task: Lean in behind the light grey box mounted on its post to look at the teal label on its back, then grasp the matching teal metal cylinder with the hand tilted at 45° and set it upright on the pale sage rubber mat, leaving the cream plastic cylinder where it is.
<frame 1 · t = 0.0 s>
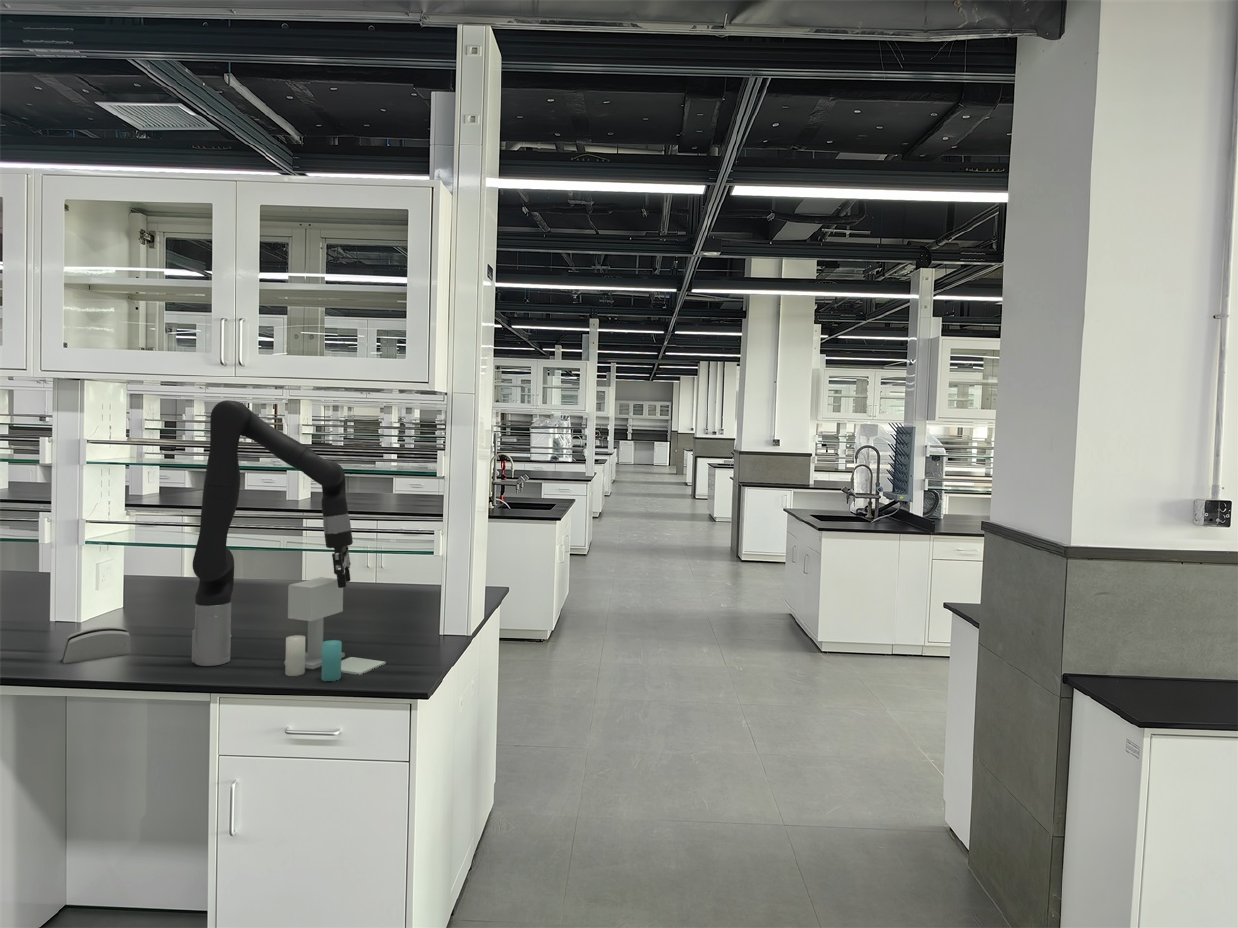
hand: (344, 584, 239), 22 cm above the countertop, tool pointing down, fingers open, 8 cm apart
cream part: (295, 673, 226), on the countertop
mounted unit: (315, 660, 238), on the countertop
teal part: (331, 678, 222), on the countertop
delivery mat: (355, 666, 234), on the countertop
gear: (217, 637, 261), on the countertop
grey curved piece: (97, 658, 234), on the countertop
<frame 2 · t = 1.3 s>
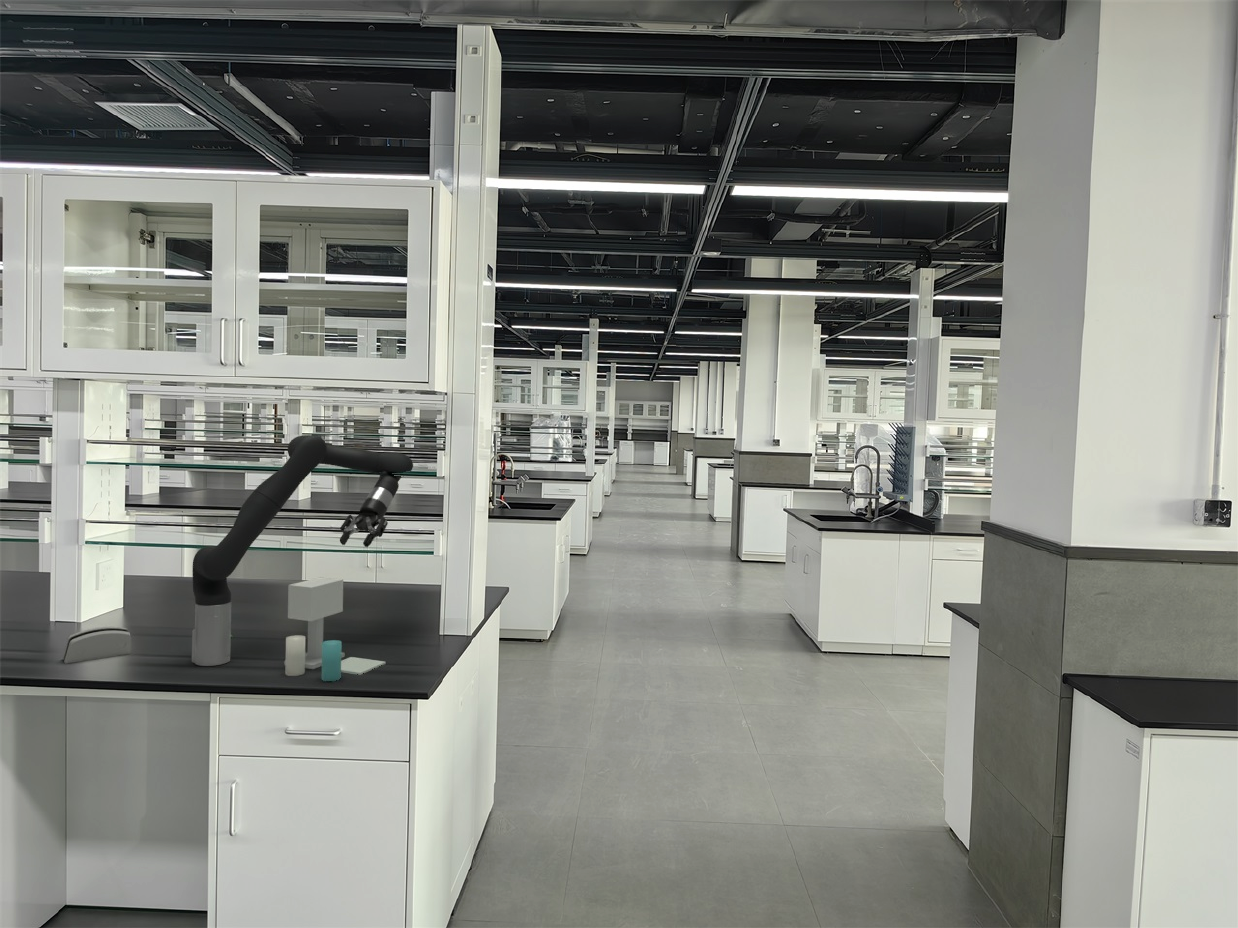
hand: (353, 544, 251), 32 cm above the countertop, tool tilted 45°, fingers open, 8 cm apart
nothing on the countertop moved.
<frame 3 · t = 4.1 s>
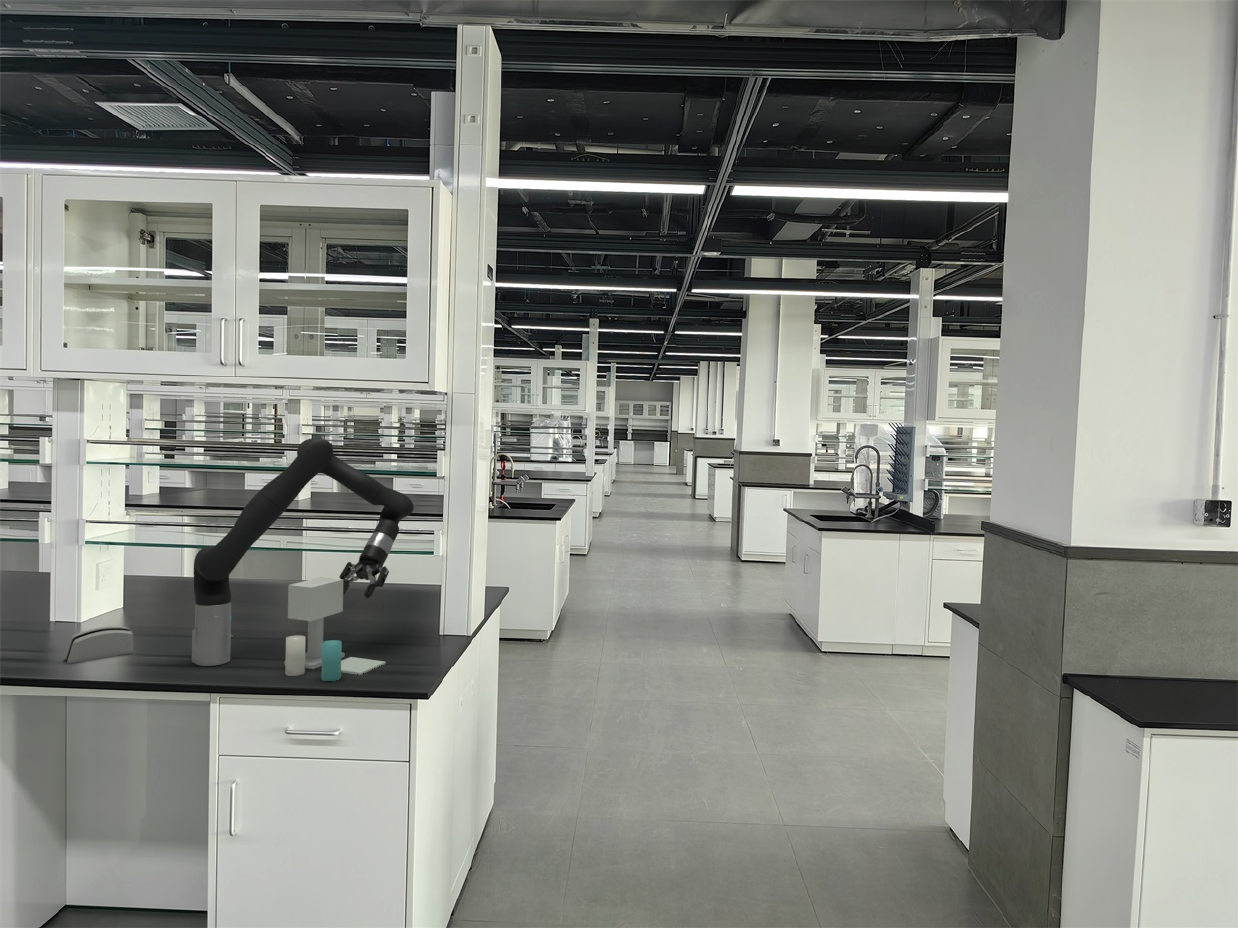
hand: (353, 595, 243), 19 cm above the countertop, tool tilted 40°, fingers open, 8 cm apart
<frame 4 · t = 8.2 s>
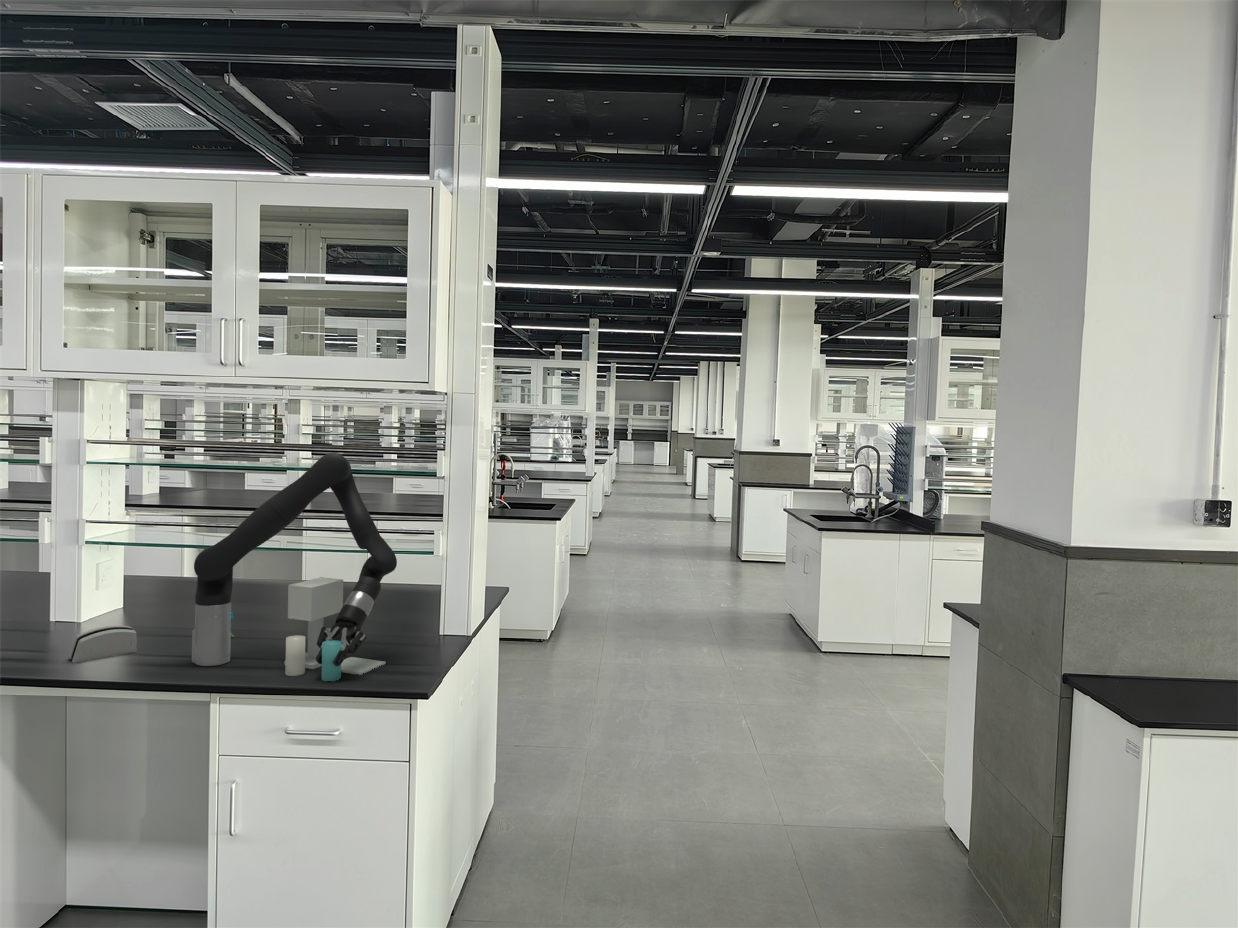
hand: (327, 663, 220), 5 cm above the countertop, tool tilted 45°, fingers closed on teal part, 5 cm apart
teal part: (331, 678, 222), on the countertop, touching gripper
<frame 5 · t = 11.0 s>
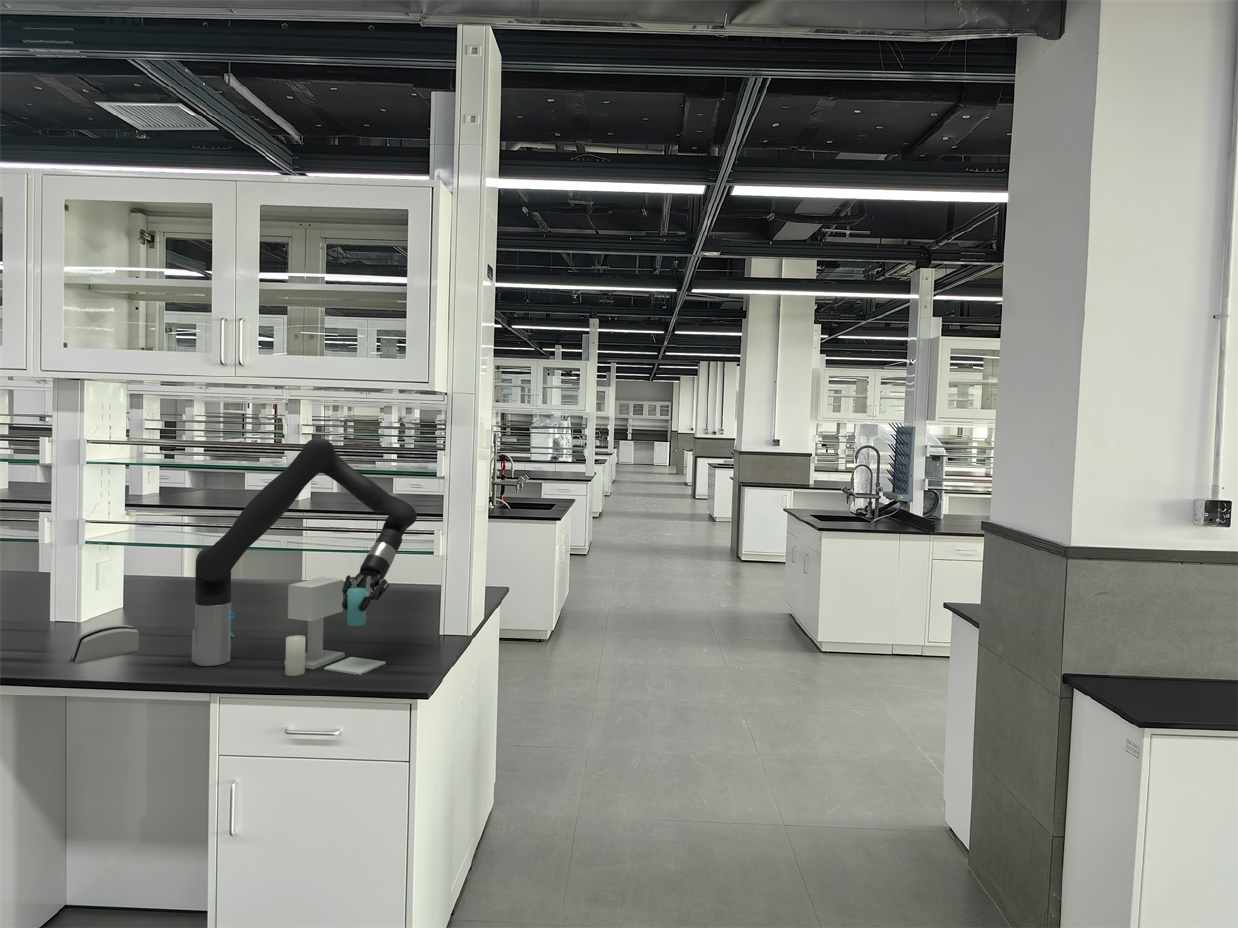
hand: (352, 608, 231), 17 cm above the countertop, tool tilted 45°, fingers closed on teal part, 5 cm apart
teal part: (356, 623, 233), point 12 cm above the countertop, touching gripper
when the fingers open (7 cm above the countertop, at t = 13.9 s): teal part drops 1 cm, resting on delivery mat.
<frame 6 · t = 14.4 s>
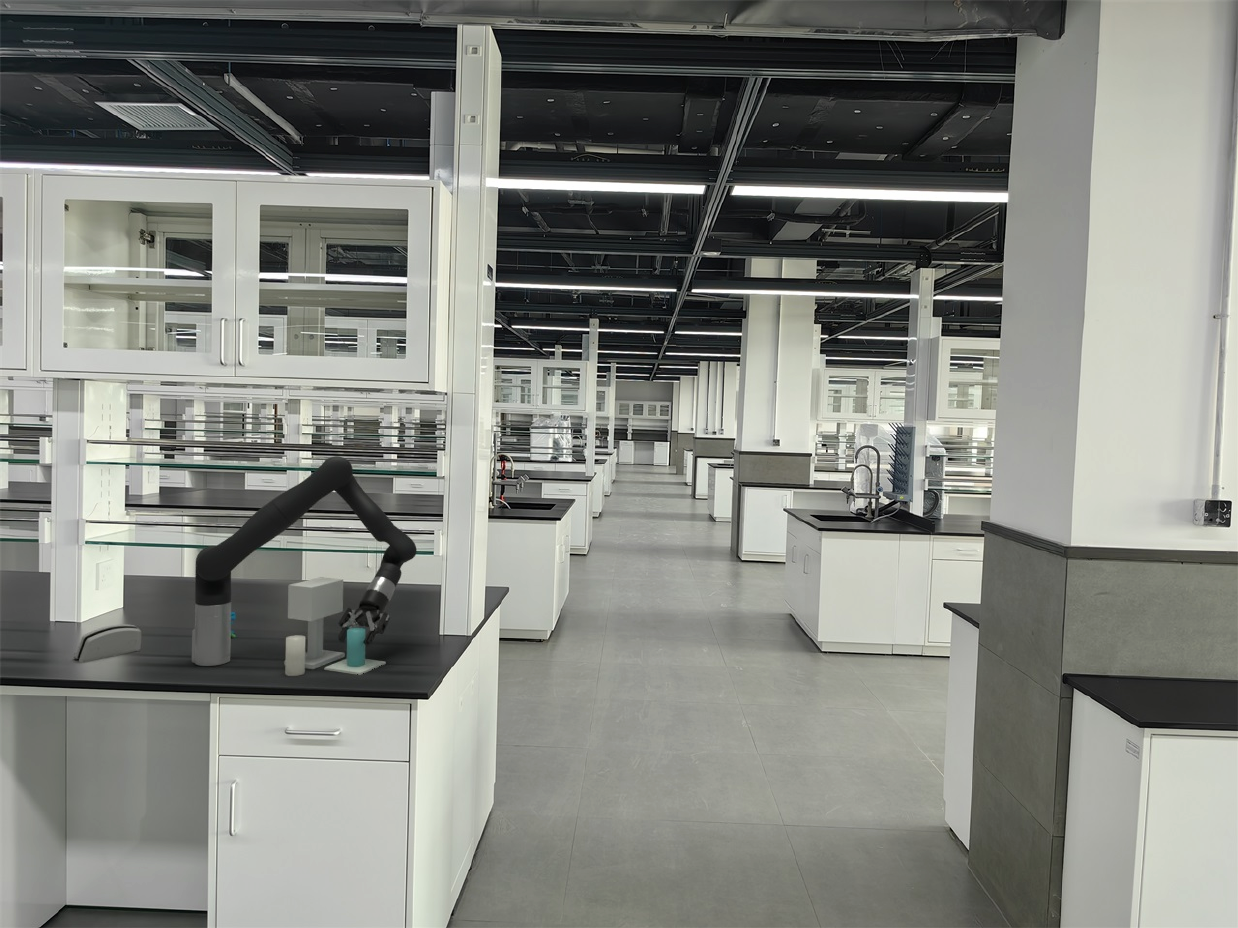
hand: (353, 642, 232), 7 cm above the countertop, tool tilted 45°, fingers open, 8 cm apart
teal part: (356, 664, 234), point 1 cm above the countertop, touching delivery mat
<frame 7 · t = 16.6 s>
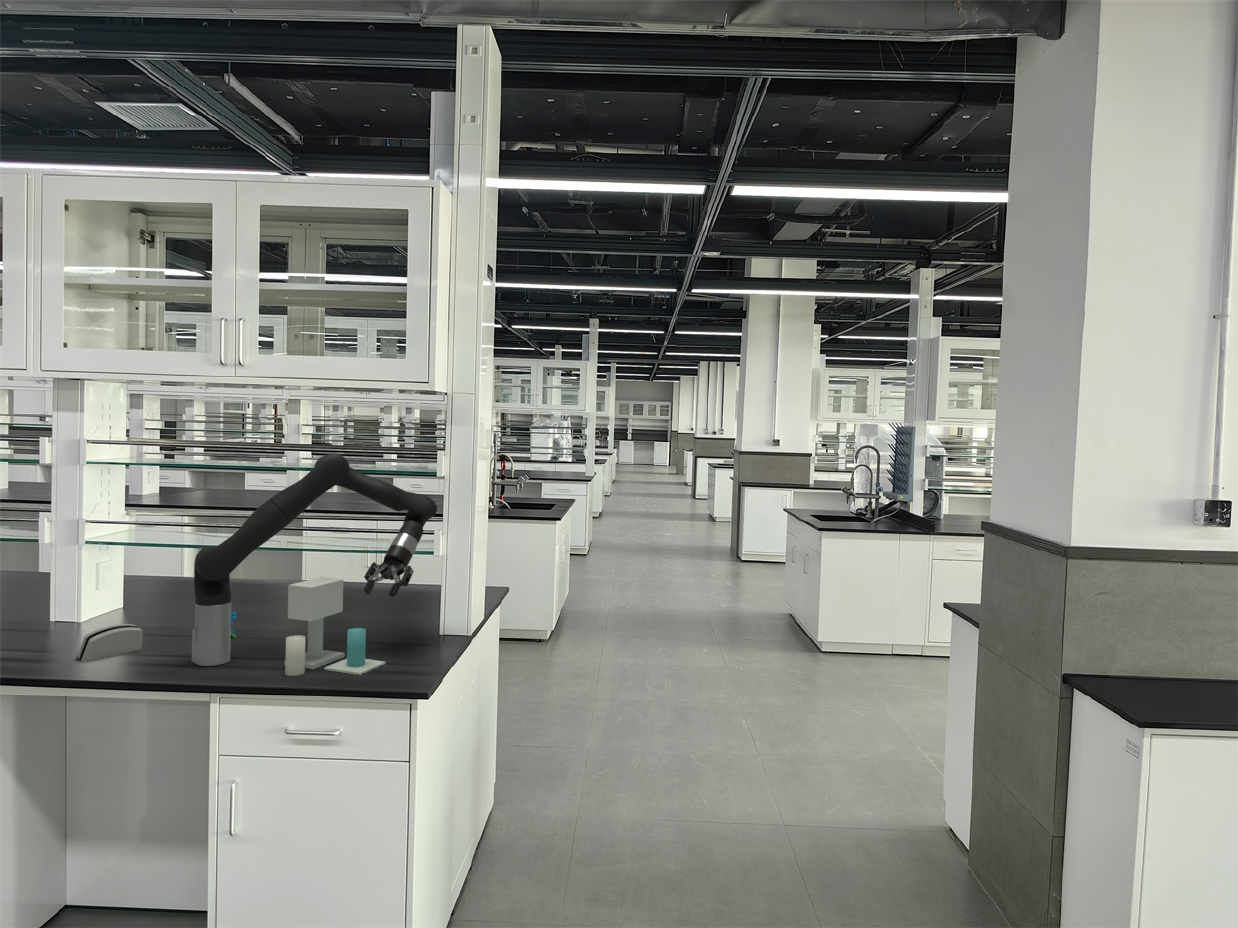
hand: (378, 594, 243), 19 cm above the countertop, tool tilted 45°, fingers open, 8 cm apart
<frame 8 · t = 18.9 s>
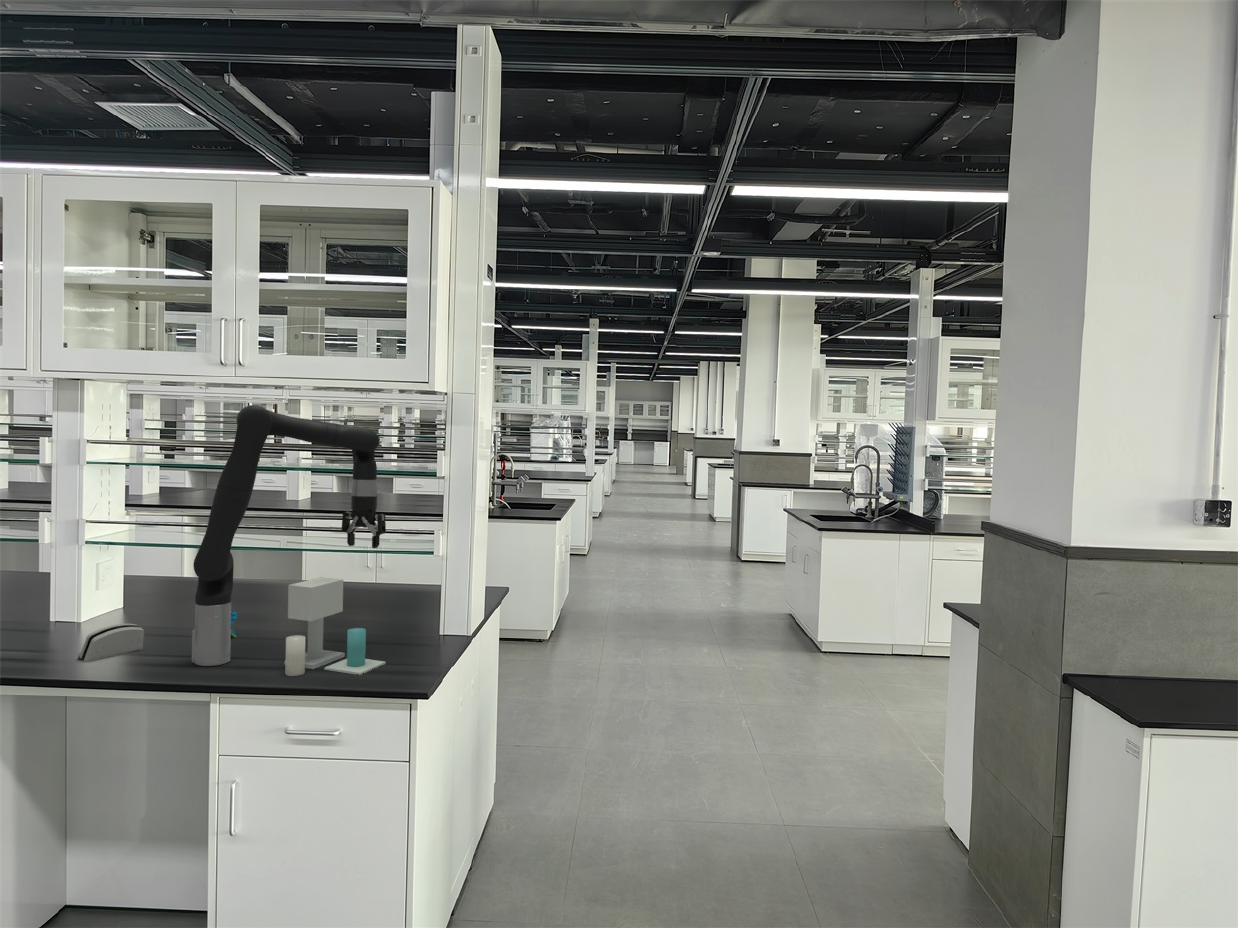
hand: (363, 546, 250), 32 cm above the countertop, tool pointing down, fingers open, 8 cm apart
at the end: teal part inside the target area on the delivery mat (0.2 cm from its centre), point 0.6 cm above the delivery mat's base; teal part tilted 0°; cream part moved 0.0 cm from its start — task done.
